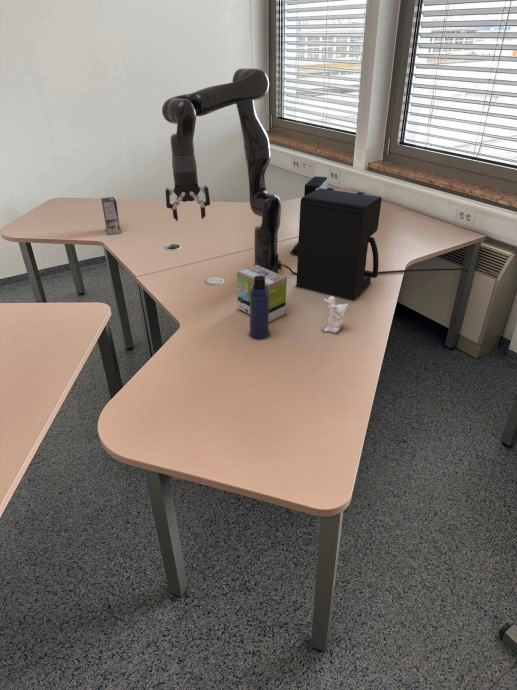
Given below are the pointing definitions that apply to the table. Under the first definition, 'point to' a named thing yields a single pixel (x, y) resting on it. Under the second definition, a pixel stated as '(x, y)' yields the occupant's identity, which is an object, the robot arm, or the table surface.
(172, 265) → the table surface
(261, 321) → the water bottle
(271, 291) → the tea box
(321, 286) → the coffee maker
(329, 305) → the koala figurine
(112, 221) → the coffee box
